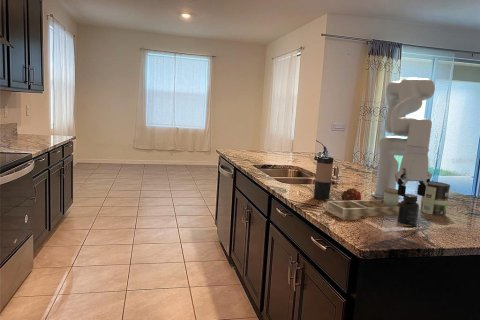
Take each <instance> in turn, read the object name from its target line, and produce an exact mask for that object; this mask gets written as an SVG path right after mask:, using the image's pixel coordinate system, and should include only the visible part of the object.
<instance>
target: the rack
mask: <svg viewBox="0 0 480 320" xmlns="http://www.w3.org/2000/svg"><path fill="white" fill-rule="evenodd" d="M326 201H327V202H326V208H325V211H326V212H328V213H330V214H331V215H333V216H336V217H338V218H340V219H342V220H344V221H351V220H367V217H377V216H378V217H379V216H398V213H399V206H400V202H401V201H399V202H398V207H389V206H386V205H383V201H384V199H363V200H362V199H361V200H355V201H343V200H331V201H330V200H329V201H328V200H326Z"/></svg>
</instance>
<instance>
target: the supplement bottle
mask: <svg viewBox="0 0 480 320" xmlns="http://www.w3.org/2000/svg"><path fill="white" fill-rule="evenodd" d="M402 199H403V200H401V201H399V202H400V206H399V213H398V215H397V222H398V223H399V224H403V225H406V226H403V228H408V229H414V228H417V223H418V216H419V211H420V204H419V203H418V195H417V194H416V195H415V194H412V193H405V196H402Z"/></svg>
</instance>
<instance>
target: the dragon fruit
mask: <svg viewBox="0 0 480 320" xmlns="http://www.w3.org/2000/svg"><path fill="white" fill-rule="evenodd" d="M340 197H341V201H355V200H362V194H361V192H360V191H358V189H356V188H355V187H353V188H348V189H346V190H345V191H343V192H342V194H341V196H340Z"/></svg>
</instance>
